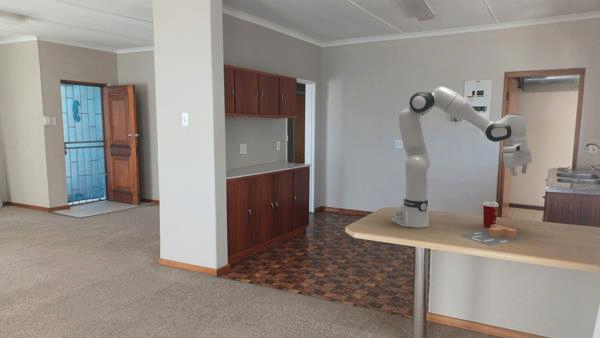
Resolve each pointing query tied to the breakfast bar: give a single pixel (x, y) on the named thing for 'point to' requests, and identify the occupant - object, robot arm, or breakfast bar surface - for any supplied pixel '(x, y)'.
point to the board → (489, 238)
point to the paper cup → (489, 213)
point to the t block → (502, 232)
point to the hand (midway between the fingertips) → (519, 174)
